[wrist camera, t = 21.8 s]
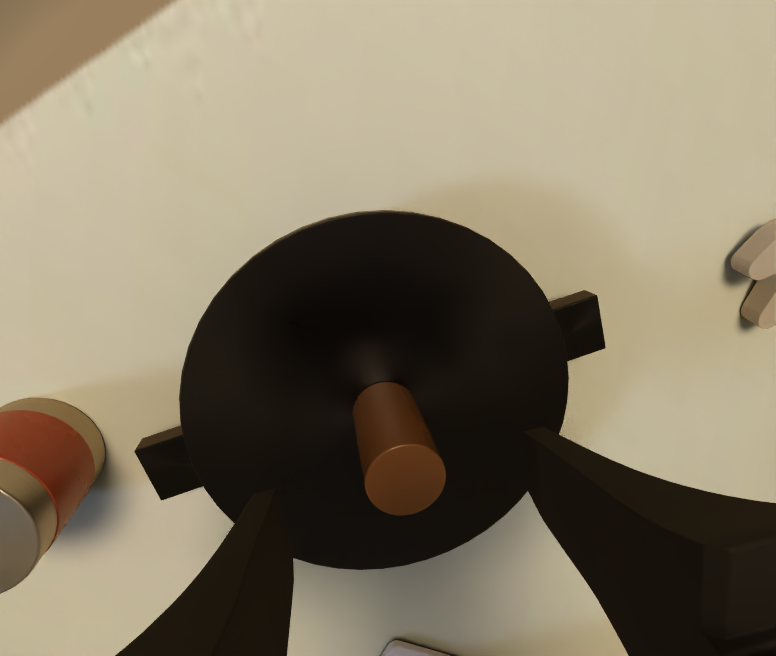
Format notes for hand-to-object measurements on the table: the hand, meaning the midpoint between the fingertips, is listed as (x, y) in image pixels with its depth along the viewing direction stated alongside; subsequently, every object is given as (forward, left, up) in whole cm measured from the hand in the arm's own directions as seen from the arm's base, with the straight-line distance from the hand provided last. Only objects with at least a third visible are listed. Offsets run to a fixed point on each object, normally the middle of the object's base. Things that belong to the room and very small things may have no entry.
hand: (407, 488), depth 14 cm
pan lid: (0, 0, -5) cm, 5 cm away
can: (-9, +11, -9) cm, 17 cm away
